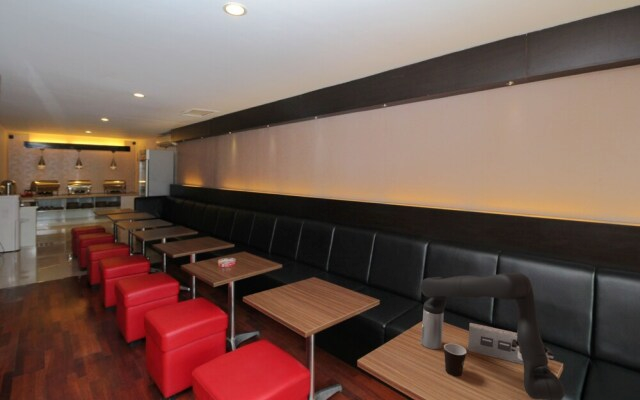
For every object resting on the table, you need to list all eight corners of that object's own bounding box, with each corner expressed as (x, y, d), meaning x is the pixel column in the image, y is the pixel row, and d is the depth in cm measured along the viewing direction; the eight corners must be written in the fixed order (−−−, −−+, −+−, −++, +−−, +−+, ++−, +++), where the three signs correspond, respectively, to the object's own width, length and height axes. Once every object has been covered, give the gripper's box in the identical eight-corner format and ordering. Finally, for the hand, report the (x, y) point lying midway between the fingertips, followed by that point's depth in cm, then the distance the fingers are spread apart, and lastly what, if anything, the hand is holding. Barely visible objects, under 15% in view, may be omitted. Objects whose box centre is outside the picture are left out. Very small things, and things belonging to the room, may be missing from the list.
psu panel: (467, 351, 146) (469, 326, 145) (468, 346, 150) (469, 322, 149) (523, 365, 136) (525, 338, 135) (521, 359, 140) (523, 334, 139)
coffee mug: (455, 380, 124) (456, 356, 123) (438, 368, 131) (439, 346, 131) (474, 373, 129) (475, 350, 128) (456, 361, 137) (458, 340, 136)
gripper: (559, 356, 110) (549, 336, 125) (512, 346, 117) (508, 327, 132) (558, 377, 110) (548, 354, 126) (511, 365, 117) (507, 344, 132)
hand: (528, 340), depth 128 cm, fingers closed on can, 5 cm apart
